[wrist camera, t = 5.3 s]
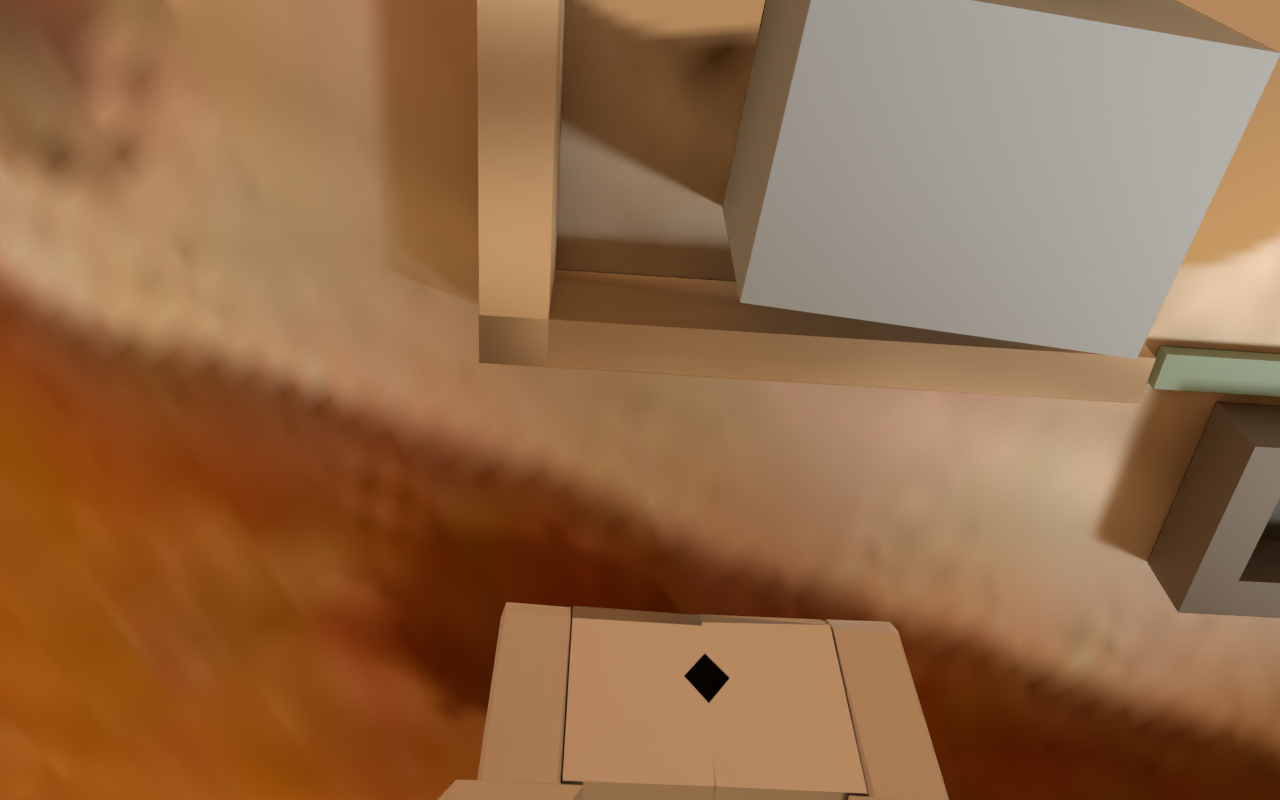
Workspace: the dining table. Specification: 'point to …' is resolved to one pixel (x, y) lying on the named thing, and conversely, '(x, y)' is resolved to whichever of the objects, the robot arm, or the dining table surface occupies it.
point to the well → (1226, 519)
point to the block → (985, 161)
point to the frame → (1216, 371)
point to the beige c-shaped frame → (681, 307)
